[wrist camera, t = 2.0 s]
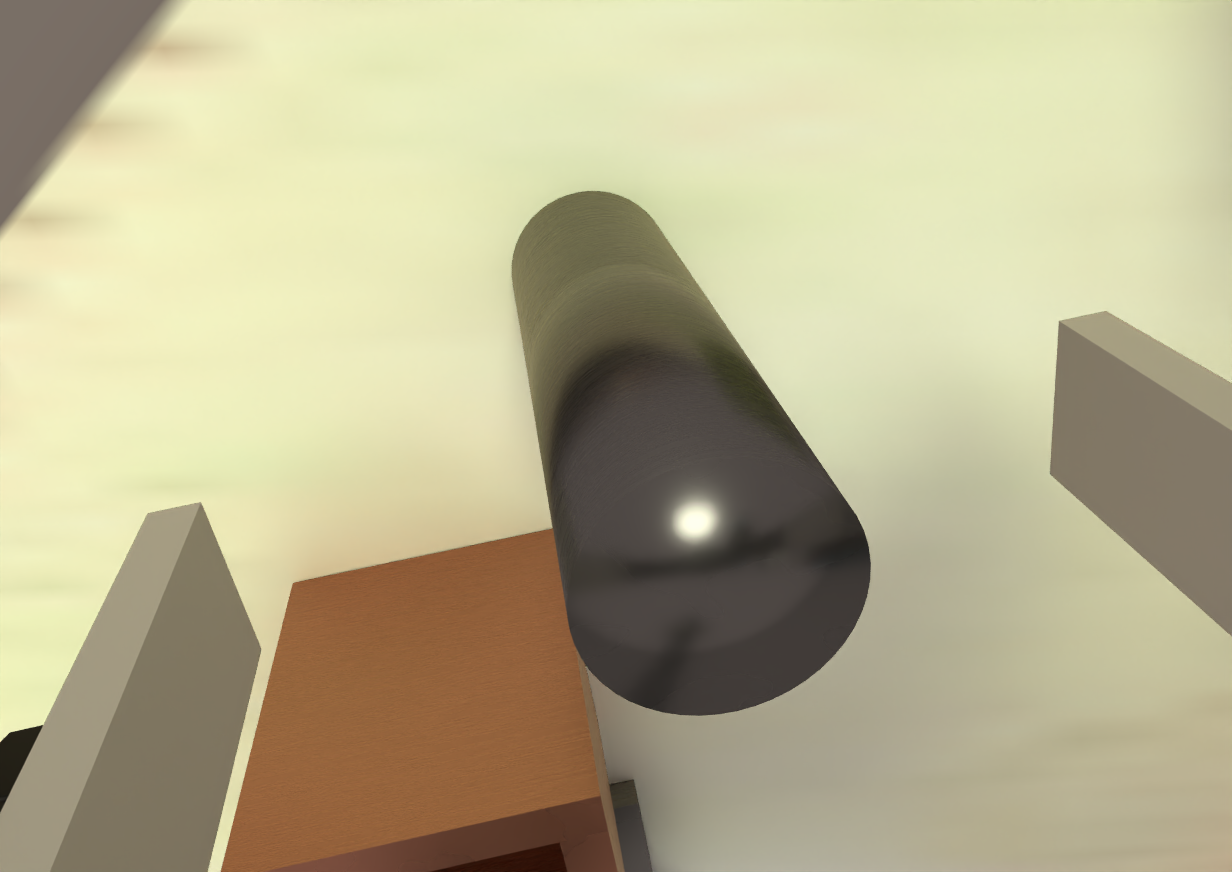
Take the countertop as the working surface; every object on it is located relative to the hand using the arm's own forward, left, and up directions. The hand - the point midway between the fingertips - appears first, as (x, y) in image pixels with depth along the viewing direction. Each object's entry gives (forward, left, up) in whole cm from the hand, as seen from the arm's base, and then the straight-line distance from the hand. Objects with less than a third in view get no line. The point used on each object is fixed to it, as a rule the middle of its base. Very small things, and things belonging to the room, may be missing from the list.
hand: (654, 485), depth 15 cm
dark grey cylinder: (0, 0, -11) cm, 11 cm away
